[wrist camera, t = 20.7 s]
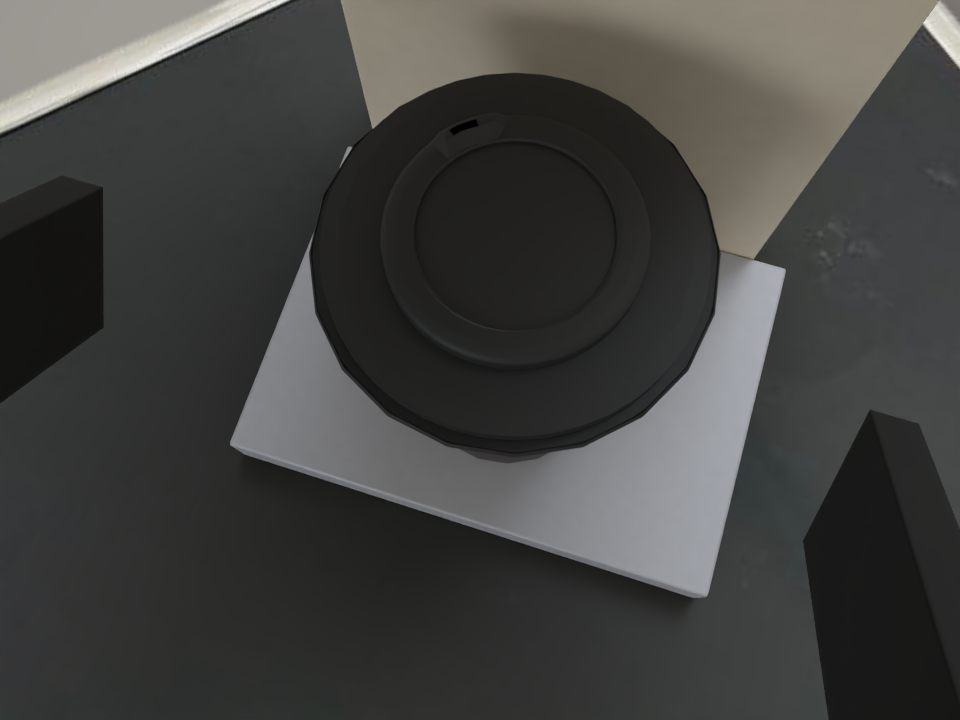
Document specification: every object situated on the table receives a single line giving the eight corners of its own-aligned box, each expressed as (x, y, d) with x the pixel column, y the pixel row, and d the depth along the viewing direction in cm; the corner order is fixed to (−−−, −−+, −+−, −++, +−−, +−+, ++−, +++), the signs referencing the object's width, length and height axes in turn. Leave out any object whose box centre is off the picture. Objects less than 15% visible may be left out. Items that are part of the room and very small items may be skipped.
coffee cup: (478, 194, 28) (469, -31, 18) (701, 342, 26) (820, 183, 17) (311, 401, 26) (205, 273, 17) (540, 572, 25) (571, 540, 15)
